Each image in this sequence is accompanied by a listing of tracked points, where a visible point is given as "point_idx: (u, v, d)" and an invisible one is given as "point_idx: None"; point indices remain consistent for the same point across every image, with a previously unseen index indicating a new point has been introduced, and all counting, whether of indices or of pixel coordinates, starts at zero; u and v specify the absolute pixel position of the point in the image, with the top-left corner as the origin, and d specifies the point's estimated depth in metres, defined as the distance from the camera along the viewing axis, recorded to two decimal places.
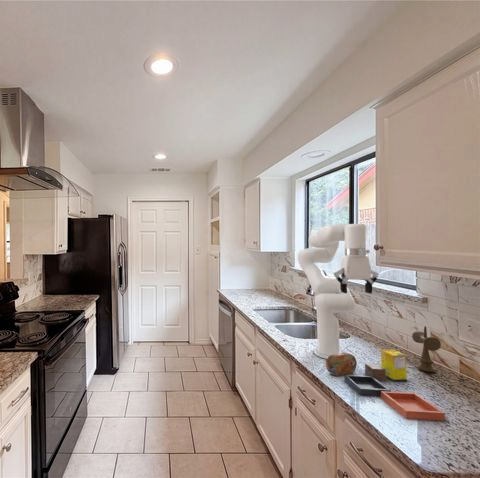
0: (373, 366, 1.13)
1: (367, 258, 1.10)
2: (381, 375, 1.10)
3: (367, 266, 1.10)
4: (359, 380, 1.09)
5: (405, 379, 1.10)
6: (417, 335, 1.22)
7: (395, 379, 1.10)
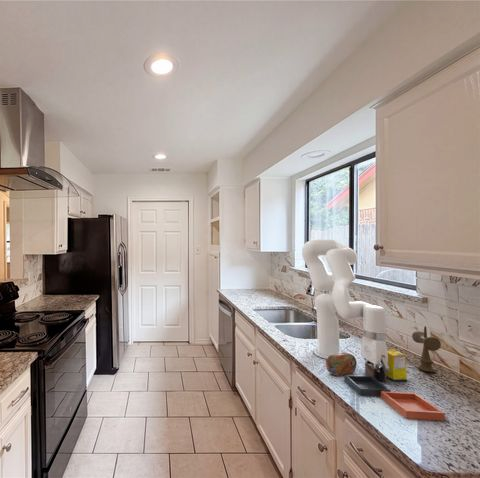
0: (373, 366, 1.13)
1: None
2: None
3: None
4: (359, 380, 1.09)
5: (405, 379, 1.10)
6: (417, 335, 1.22)
7: (395, 379, 1.10)
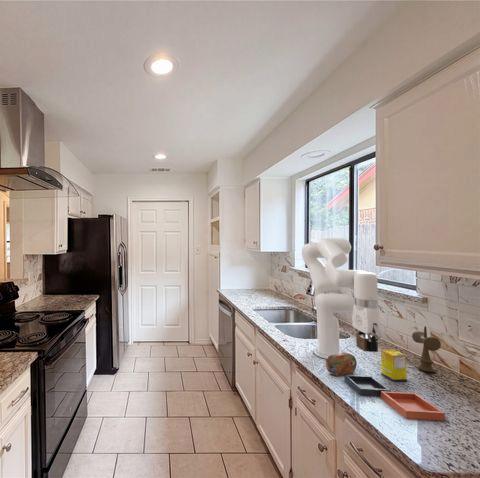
0: (365, 336, 1.06)
1: None
2: None
3: None
4: (359, 380, 1.09)
5: (405, 379, 1.10)
6: (417, 335, 1.22)
7: (395, 379, 1.10)
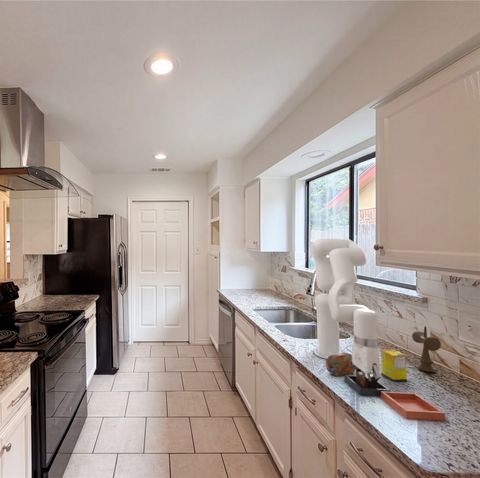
0: (365, 374, 1.05)
1: None
2: None
3: None
4: None
5: (405, 379, 1.10)
6: (417, 335, 1.22)
7: (395, 379, 1.10)
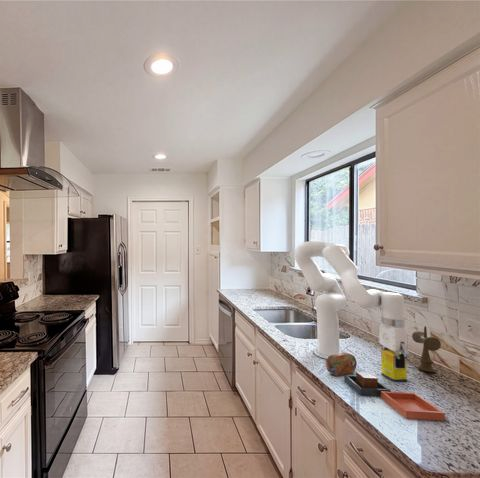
0: (365, 374, 1.05)
1: None
2: (373, 384, 1.02)
3: None
4: None
5: (405, 379, 1.10)
6: (417, 335, 1.22)
7: (395, 379, 1.10)
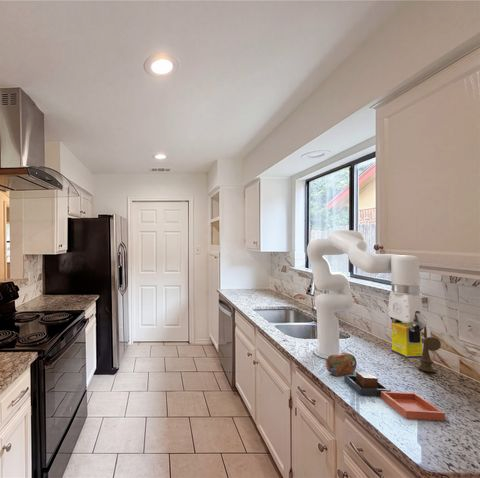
0: (365, 374, 1.05)
1: None
2: (373, 384, 1.02)
3: None
4: None
5: (420, 356, 0.93)
6: None
7: (409, 356, 0.93)
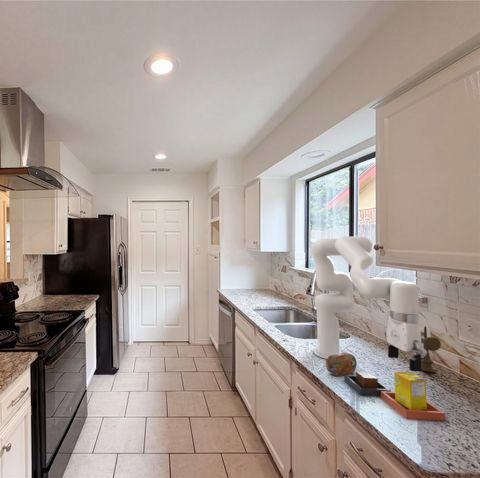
0: (365, 374, 1.05)
1: None
2: (373, 384, 1.02)
3: None
4: None
5: (425, 409, 0.90)
6: None
7: None
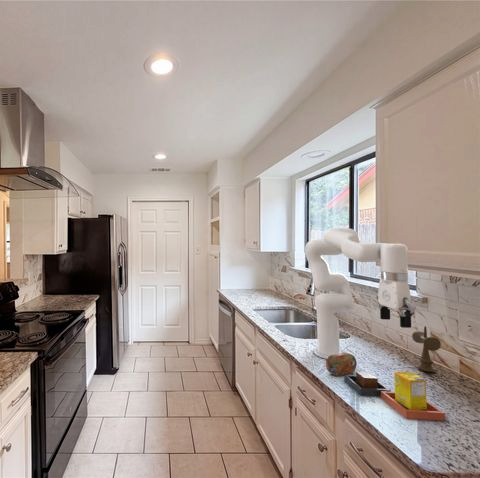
0: (365, 374, 1.05)
1: None
2: (373, 384, 1.02)
3: None
4: None
5: (425, 409, 0.90)
6: (417, 335, 1.22)
7: None
